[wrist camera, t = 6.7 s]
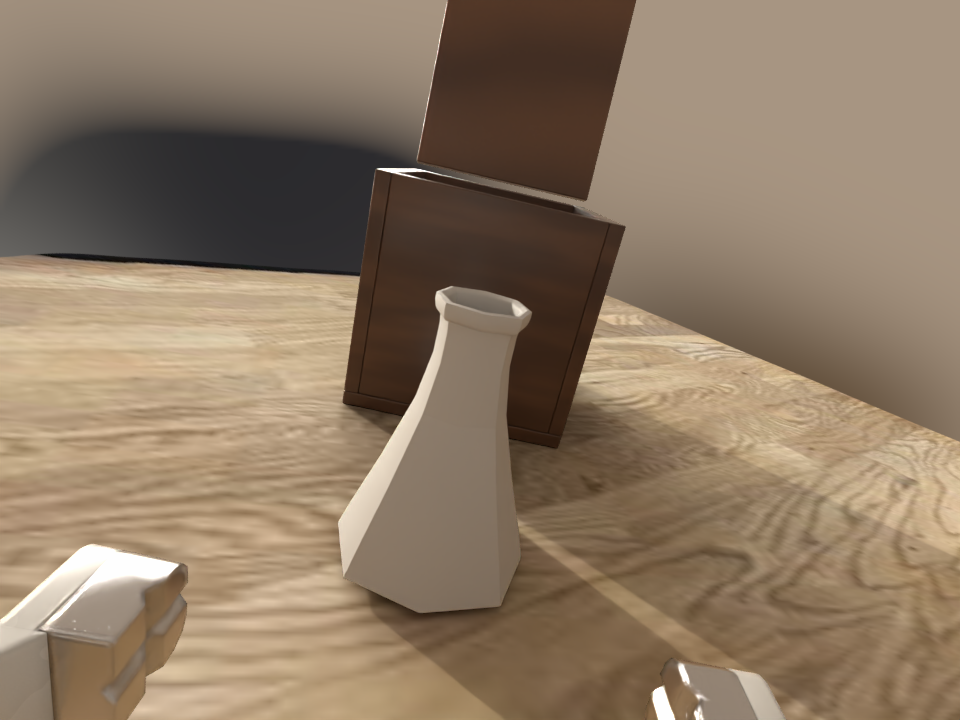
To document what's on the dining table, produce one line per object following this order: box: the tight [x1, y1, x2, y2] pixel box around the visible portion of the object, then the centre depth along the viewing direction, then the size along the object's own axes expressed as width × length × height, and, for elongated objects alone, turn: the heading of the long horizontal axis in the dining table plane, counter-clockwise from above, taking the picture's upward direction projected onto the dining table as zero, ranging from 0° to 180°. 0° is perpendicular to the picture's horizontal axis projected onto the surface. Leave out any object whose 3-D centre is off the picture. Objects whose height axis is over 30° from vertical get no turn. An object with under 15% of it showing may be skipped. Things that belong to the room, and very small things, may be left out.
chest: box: [343, 169, 625, 448], centre depth 35 cm, size 14×13×13 cm
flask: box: [338, 286, 532, 613], centre depth 19 cm, size 7×7×10 cm
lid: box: [417, 0, 636, 201], centre depth 37 cm, size 14×13×1 cm
